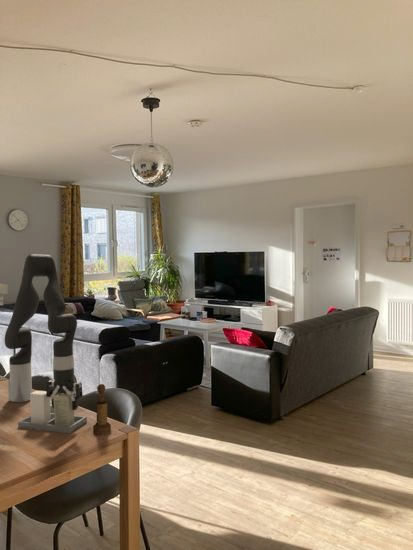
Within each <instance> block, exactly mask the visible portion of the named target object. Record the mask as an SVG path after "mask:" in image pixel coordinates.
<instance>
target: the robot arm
mask: <svg viewBox="0 0 413 550" xmlns="http://www.w3.org/2000/svg"><path fill="white" fill-rule="evenodd" d="M35 277H43V278H44V277H46V278H47V280H48V283H47V284H46V287H45V289H44V291H43V302H44V305H45V308H46V311H47V329H48V331H49V332H50V333H51V334H54V335H58V334H64V335H63V336H62V337H61V338H57V339H56V340H54V341H53V346H52V347H53V348H52V349H53V360H52V365H53V366H52V367H53V368H52V370H53V371H52V372H53V375H52V376H53V379H51V380H50V379H49V380H48V381H47V382H46V396H47V397H50V401H52V407H53V408H54V399H53V396H54V395H56V394H58V393H60V394H62V393H64V394H68V396H70V397H71V399H72V400H73V401H72V410H74V411H76V410H77V409H78V408H79V400H80V399H82V398H83V397H84V396H83V384H82V382H81V381H79V382H75V360H74V345H73V344H74V339H75V335H76V331H77V327H78V320H77V317H76V315H74V314H73V313H65V312H66V311H67V305H66V302H65V300H64V297H63V295H62V292H61V288H60V282H59V277H58V271H57V266H56V261H55V259H54V257H53V256H52V255H51V254H41V253H40V254H37V253H32V254H28V255H27V257H26V258H25V261H24V266H23V270H22V277H21V282H20V286H19V290H18V293H17V295H16V299H15V302H14V307H13V312H12V315H11V319H10V321H9V324H8V326H7V328H6V330H5V334H4V345H5V347H6V349H9V350H16V349H20V350H19V351H18V352H16V353H14V354H13V355H11V356H10V357H9V361H8V363H9V379H8V380H7V389H8V401H10V402H11V403H12V402H13V403H24V402H25V403H26V402H30V393H32V392H33V383H32V380H33V379H32V353H33V352H32V344H33V343H32V341H33V338H32V335H33V334H32V331H31V329H30V328H29V327H27V326H25V327H23V326H24V325H25V324H26V323H27V322H28V321H30V319H32V318H33V317H34V315H35V314H36V313H37V311H38V306H39V304H40V296H39V293H38V291H37V290H36V288H35V286H34V283H33V280H34V278H35ZM64 313H65V314H64ZM54 388H55V389H54Z"/></svg>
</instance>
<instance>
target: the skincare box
mask: <svg viewBox="0 0 413 550" xmlns="http://www.w3.org/2000/svg"><path fill="white" fill-rule="evenodd" d="M53 399H54V417H55V425H58V426H67V427H70V426H71V425H73V424H74V423H75V422H74V415H75V410H72V401H73V400H72V399H71V397H70V396H68V394H64V393H62V394H60V393H58V394H56V395H54V396H53Z"/></svg>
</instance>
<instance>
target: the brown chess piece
mask: <svg viewBox="0 0 413 550" xmlns="http://www.w3.org/2000/svg"><path fill="white" fill-rule="evenodd" d="M96 389H97V392H98V394H99V395H98V401H96V404H95V405H96V406H95V407H96V422H95V424H94V425H93V427H92V430H93V431H92V432H93V434H95V435H98V436H99V435H100V436H101V435H102V436H104V435H106V434H110V433H111V432H112V429H111V428H112V424H111V423H110V422H108V401H105V395H104V393H105V391H106V386H105V384H103V383H99V384H98V385H97V387H96Z"/></svg>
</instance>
